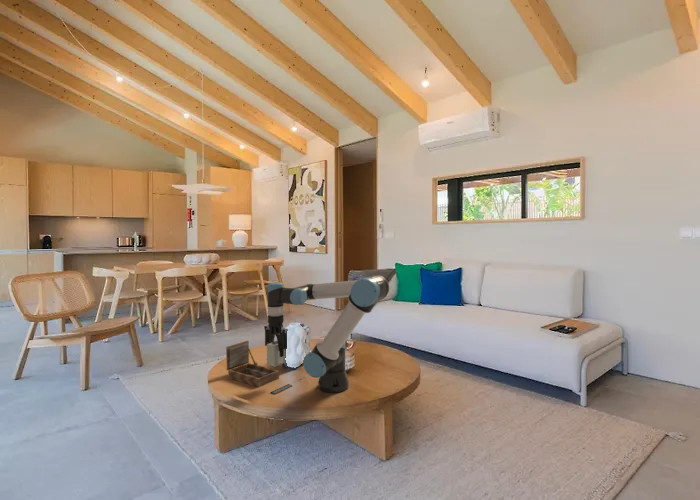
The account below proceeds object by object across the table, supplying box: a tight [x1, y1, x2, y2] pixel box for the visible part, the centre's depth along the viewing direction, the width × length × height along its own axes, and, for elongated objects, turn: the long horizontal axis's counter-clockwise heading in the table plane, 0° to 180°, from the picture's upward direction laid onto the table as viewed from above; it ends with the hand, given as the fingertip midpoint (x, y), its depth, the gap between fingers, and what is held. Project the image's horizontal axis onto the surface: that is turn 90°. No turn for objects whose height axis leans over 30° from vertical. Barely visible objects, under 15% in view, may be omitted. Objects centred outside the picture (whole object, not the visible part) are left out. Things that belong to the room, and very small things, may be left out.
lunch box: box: [281, 323, 311, 369], centre depth 239 cm, size 28×10×22 cm, turn 168°
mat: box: [269, 383, 293, 395], centre depth 203 cm, size 10×12×1 cm
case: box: [225, 340, 280, 388], centre depth 214 cm, size 23×14×17 cm, turn 56°
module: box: [266, 340, 285, 368], centre depth 202 cm, size 5×7×11 cm
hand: (276, 361), depth 203 cm, fingers closed on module, 5 cm apart
